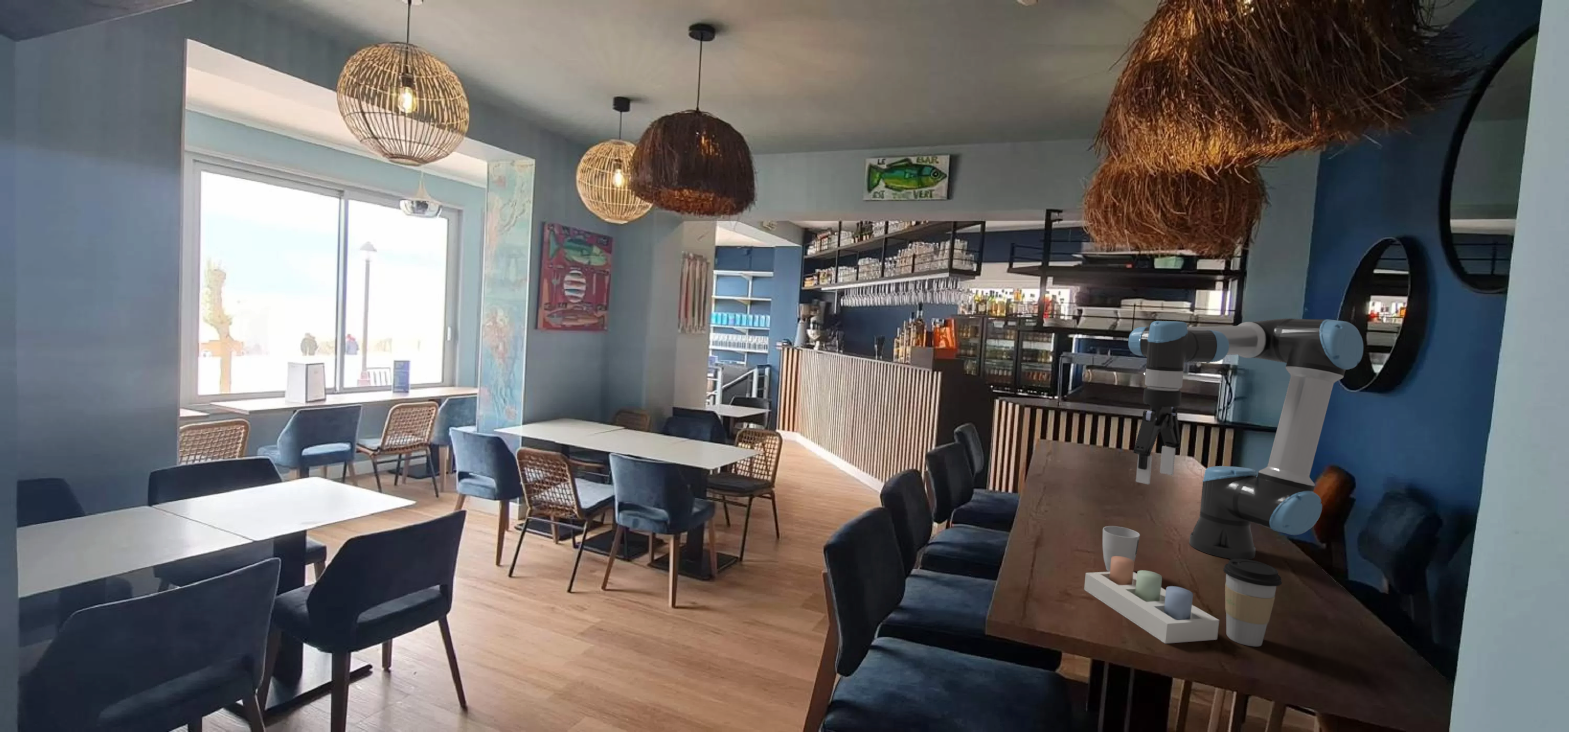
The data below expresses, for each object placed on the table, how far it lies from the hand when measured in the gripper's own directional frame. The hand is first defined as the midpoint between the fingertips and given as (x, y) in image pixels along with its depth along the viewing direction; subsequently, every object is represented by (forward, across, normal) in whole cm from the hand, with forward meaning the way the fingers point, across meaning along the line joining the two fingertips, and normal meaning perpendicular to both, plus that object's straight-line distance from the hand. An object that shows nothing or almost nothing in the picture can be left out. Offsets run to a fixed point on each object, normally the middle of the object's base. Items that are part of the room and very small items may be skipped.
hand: (1154, 478), depth 154 cm
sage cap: (+22, +17, +7) cm, 28 cm away
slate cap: (+22, +21, +14) cm, 33 cm away
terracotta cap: (+22, +14, 0) cm, 26 cm away
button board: (+25, +17, +7) cm, 31 cm away
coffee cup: (+25, +13, +24) cm, 37 cm away
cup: (+25, -1, -7) cm, 26 cm away
